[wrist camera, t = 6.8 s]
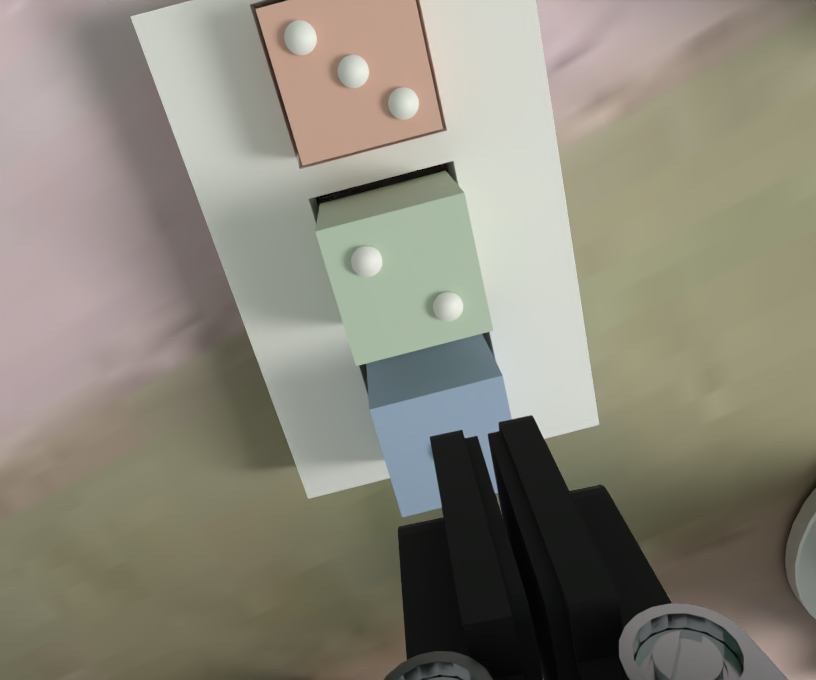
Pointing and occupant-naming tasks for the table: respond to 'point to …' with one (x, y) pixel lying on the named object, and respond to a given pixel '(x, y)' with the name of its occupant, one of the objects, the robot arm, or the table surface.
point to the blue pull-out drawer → (433, 411)
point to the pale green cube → (403, 267)
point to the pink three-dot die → (350, 73)
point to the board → (299, 185)
